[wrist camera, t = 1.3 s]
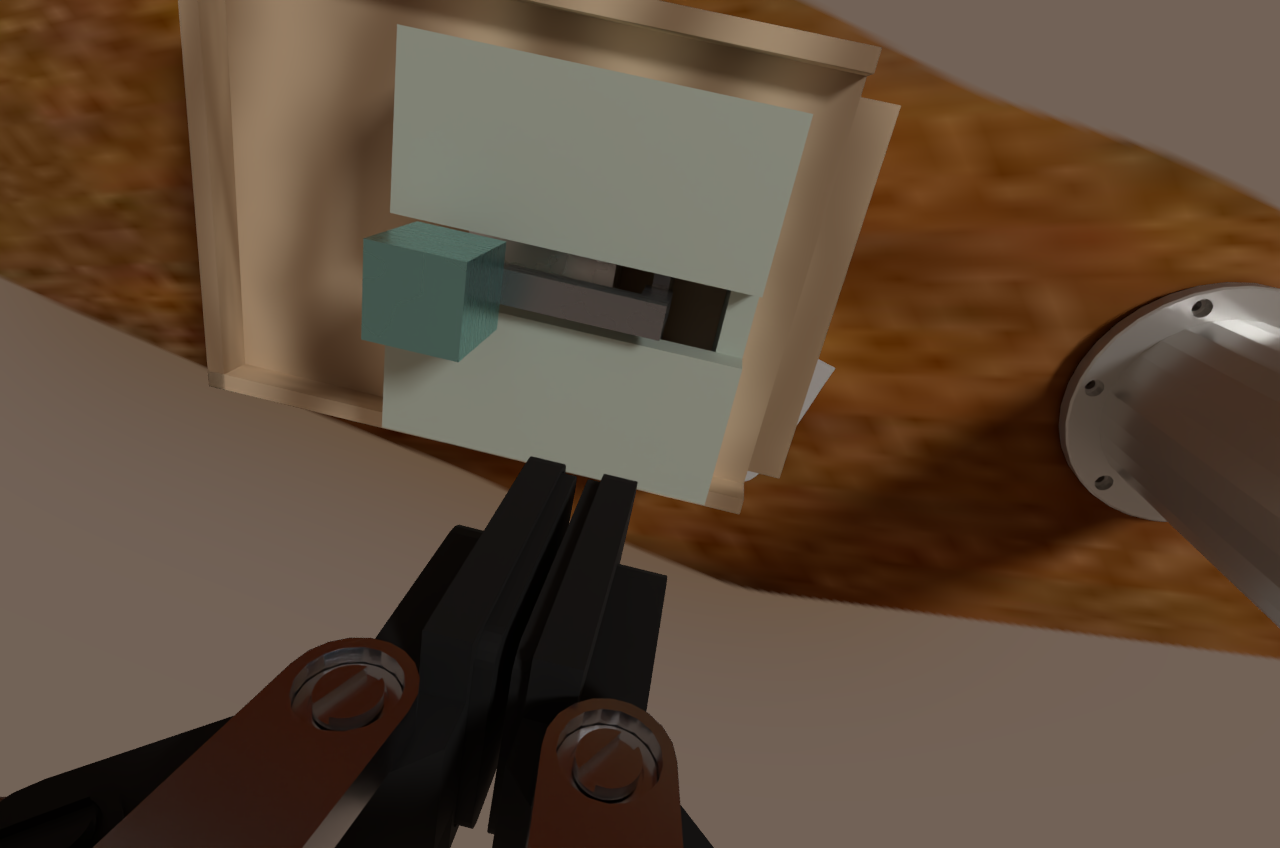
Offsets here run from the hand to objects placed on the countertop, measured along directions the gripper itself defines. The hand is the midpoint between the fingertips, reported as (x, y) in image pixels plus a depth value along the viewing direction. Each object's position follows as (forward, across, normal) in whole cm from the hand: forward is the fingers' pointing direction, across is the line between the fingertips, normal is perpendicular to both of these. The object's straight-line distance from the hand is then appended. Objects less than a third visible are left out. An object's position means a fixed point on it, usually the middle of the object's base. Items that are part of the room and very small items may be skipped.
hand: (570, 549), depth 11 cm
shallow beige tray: (+27, +7, 0) cm, 28 cm away
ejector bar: (+20, +4, 0) cm, 20 cm away
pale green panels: (+20, +3, 0) cm, 20 cm away
